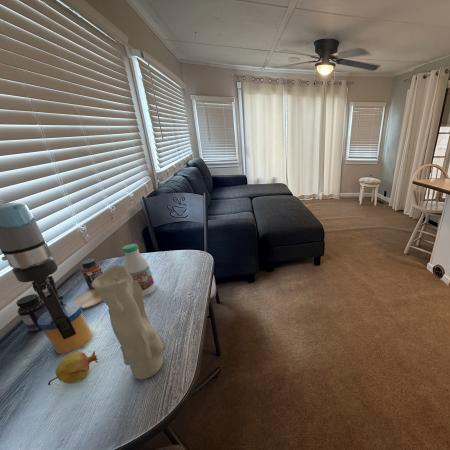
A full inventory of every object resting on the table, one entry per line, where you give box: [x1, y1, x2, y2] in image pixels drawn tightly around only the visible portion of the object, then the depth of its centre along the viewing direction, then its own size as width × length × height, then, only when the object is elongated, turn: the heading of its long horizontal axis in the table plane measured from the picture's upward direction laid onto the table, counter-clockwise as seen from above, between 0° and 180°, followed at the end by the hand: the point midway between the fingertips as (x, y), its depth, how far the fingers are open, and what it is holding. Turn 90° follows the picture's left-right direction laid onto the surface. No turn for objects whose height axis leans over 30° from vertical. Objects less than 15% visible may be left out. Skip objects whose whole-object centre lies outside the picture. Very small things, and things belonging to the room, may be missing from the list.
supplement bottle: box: [80, 258, 104, 289], centre depth 98 cm, size 6×6×11 cm
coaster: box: [71, 288, 104, 310], centre depth 91 cm, size 12×12×1 cm
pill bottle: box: [15, 293, 48, 333], centre depth 77 cm, size 6×6×11 cm
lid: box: [37, 301, 84, 331], centre depth 69 cm, size 9×9×2 cm
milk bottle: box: [122, 243, 156, 297], centre depth 91 cm, size 8×8×20 cm
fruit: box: [47, 351, 99, 386], centre depth 61 cm, size 7×7×10 cm
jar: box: [43, 312, 93, 354], centre depth 71 cm, size 8×8×10 cm
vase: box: [92, 264, 167, 380], centre depth 58 cm, size 9×8×30 cm
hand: (67, 327), depth 71 cm, fingers closed on lid, 9 cm apart
